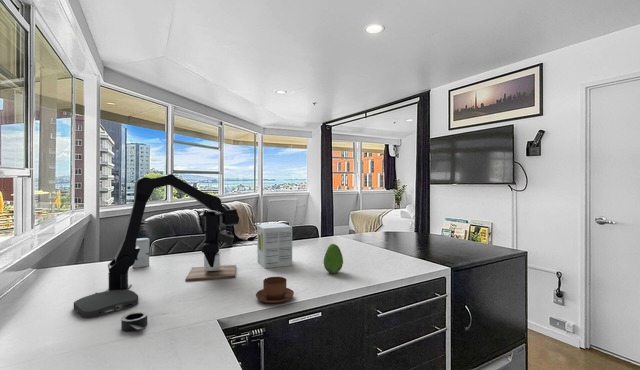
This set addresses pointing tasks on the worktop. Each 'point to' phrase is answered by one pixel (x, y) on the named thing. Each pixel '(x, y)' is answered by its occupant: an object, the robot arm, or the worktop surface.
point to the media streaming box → (105, 303)
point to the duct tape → (134, 321)
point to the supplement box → (274, 245)
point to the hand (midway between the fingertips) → (212, 265)
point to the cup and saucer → (274, 290)
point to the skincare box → (142, 253)
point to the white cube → (216, 263)
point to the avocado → (333, 259)
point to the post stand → (211, 273)
